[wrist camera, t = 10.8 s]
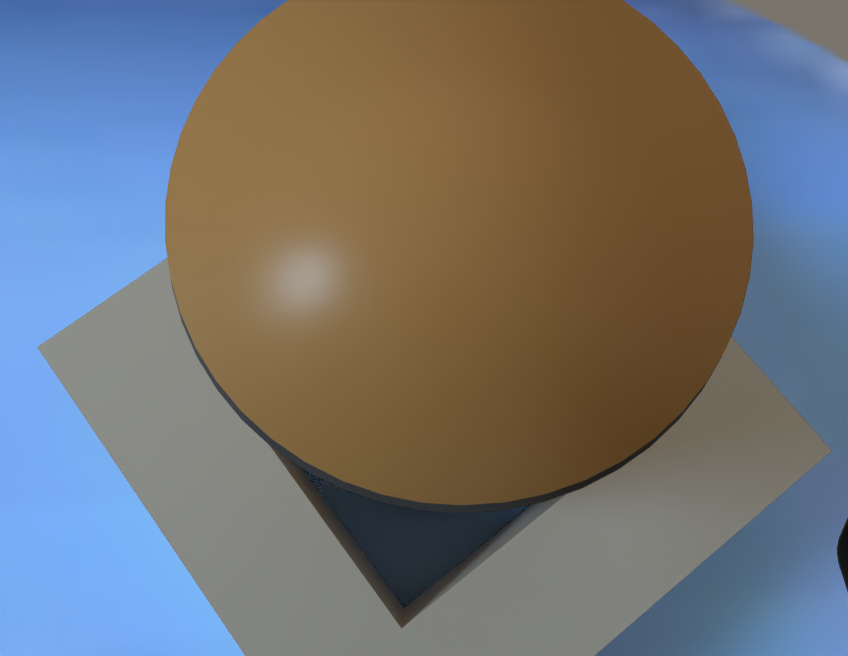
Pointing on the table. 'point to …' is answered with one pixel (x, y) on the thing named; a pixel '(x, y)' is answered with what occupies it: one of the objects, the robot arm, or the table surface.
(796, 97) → the table surface
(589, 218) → the plug
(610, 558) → the socket block
